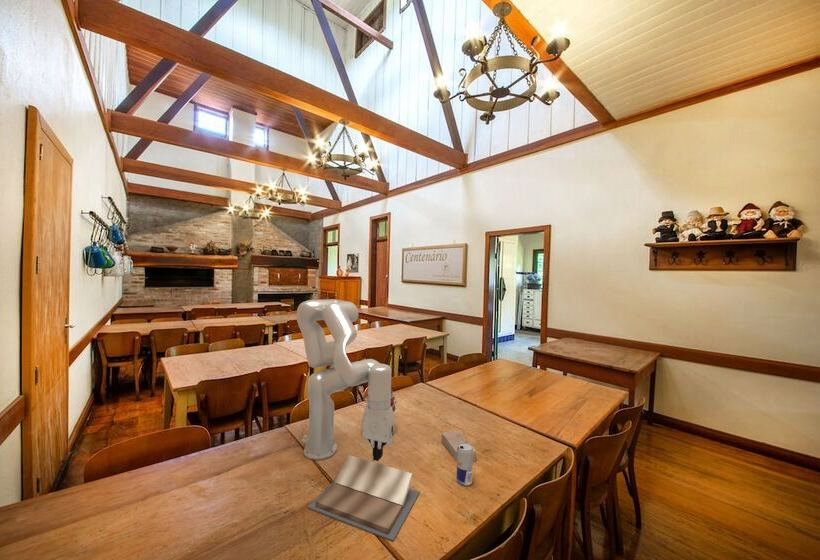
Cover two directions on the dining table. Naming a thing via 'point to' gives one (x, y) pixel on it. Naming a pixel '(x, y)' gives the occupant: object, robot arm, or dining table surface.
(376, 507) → the laid plank
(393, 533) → the underlay mat
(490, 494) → the dining table surface
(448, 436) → the brick
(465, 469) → the energy drink
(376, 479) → the loose plank
